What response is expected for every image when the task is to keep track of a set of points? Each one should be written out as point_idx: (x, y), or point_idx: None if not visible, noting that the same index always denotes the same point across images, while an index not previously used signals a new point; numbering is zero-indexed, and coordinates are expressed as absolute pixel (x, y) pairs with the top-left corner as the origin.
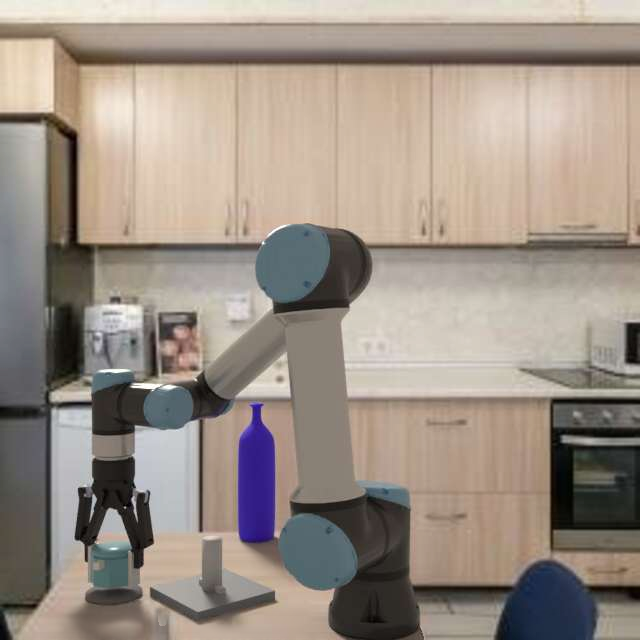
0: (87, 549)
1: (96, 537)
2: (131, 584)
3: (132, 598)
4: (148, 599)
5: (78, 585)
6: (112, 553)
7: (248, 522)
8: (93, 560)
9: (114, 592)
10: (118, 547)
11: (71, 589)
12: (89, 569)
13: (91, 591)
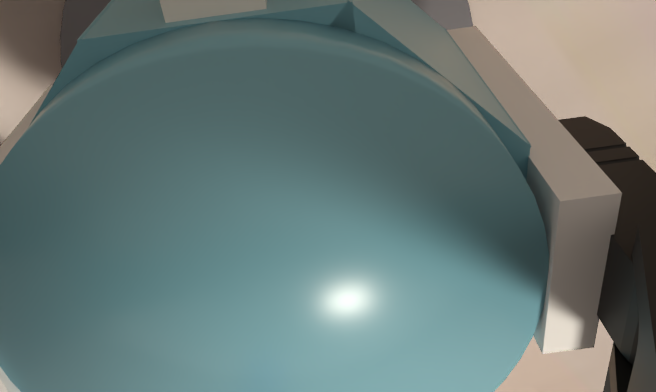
0: (626, 195)
1: (612, 388)
2: (41, 97)
3: (64, 53)
4: (13, 123)
5: (615, 104)
6: (61, 134)
7: None
8: (380, 16)
9: None
10: (219, 341)
11: (624, 24)
12: (493, 70)
13: (428, 13)
